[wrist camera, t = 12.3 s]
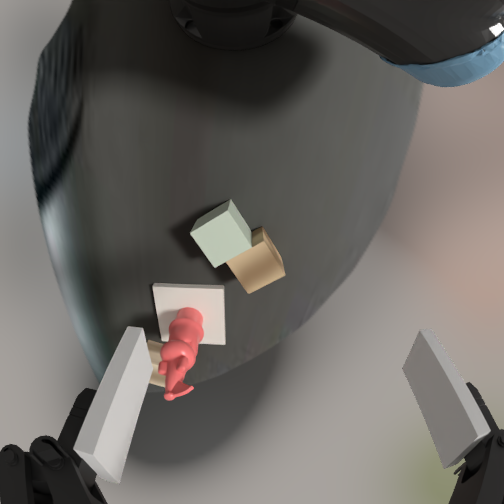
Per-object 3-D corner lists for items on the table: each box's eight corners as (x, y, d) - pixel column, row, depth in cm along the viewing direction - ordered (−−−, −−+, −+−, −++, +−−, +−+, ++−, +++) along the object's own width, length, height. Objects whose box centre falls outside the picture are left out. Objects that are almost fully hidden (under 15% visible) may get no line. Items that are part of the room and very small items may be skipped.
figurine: (198, 298, 41) (179, 379, 27) (213, 326, 43) (201, 408, 29) (167, 307, 42) (138, 385, 28) (182, 334, 44) (162, 413, 30)
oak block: (228, 244, 39) (225, 261, 34) (262, 225, 38) (263, 240, 33) (248, 274, 41) (248, 293, 36) (281, 256, 40) (285, 275, 35)
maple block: (148, 339, 46) (140, 360, 41) (177, 347, 46) (171, 369, 42) (146, 359, 48) (139, 379, 43) (174, 367, 48) (168, 388, 44)
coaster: (154, 282, 41) (152, 286, 40) (224, 285, 41) (223, 289, 40) (163, 336, 45) (162, 340, 44) (225, 340, 45) (225, 344, 44)
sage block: (197, 219, 38) (189, 233, 33) (230, 198, 36) (227, 210, 32) (218, 250, 39) (214, 267, 35) (251, 231, 38) (252, 247, 34)
